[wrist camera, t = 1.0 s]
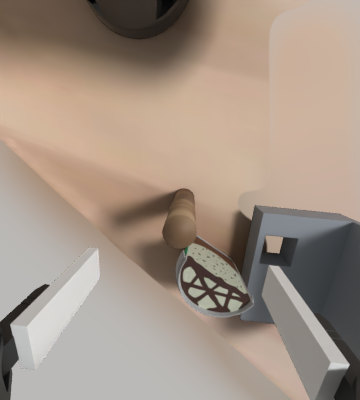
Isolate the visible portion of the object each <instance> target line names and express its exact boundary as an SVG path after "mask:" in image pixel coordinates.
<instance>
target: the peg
mask: <svg viewBox="0 0 360 400" xmlns="http://www.w3.org/2000/svg"><path fill="white" fill-rule="evenodd" d="M162 233H163V238H164V240H165V241H166V243H167V244H168V245H170V246H172V247H174V248H179V249H181V248H186V247H188V246H190V245H191V244H192V243H193V242H194V240H195V238H196V218H195V202H194V195H193V193H192V192H191V191H190V190H189V189H180V190H178V191H177V192H176V194H175V196H174V199H173V202H172V205H171V207H170V210H169V213H168V216H167V219H166V221H165V224H164V227H163V231H162Z"/></svg>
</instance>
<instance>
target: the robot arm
mask: <svg viewBox="0 0 360 400" xmlns="http://www.w3.org/2000/svg"><path fill="white" fill-rule="evenodd" d="M86 1H87V2H88V4H89V5H90V7H91V8H92V9H93V11H94V12H95V14H96V15H97V16H98V18H99V19H100V20H101V21H102V22H103V23H104V24H105V25H106V26H107V27H108V28H110V29H111V30H112V31H114V32H116V33H118V34H120V35H122V36H125V37H128V38H134V39H143V38H149V37H153V36H155V35H158V34H160V33H162V32H163V31H165V30H166V29H168V28H169V27H170V26H171V25H172V24H173V23H174V22H175V21H176V20H177V19H178V17H179V16H180V15H181V13H182V12H183V10H184V8H185V6H186V4H187V2H188V0H86ZM99 278H100V271H99V254H98V248H91V247H88V248H87V249H86V250H85V251H84V252H83V253H82V254H81V255H80V256H79V257H78V258H77V259H76V260H75V261H74V262H73V263H72V264H71V265H70V266H69V267H68V268H67V269H66V270H65V271H64V272H63V273H62V274H61V275H60V276H59V277H58V278H57V279H56V280H55V281H54V282H53V283H52V284H51V285H46V284H44V285H43V286H41V287H39V288H37V289H36V290H34V291H33V292H32V293H31V294H30V295H29V296H28V297H27V299H25V300H23V301H22V302H21V304H20V305H18V306H17V307H16V308H15V309H14V310H13V311H12V312H10V313H9V314H8V315H7V316H6V317H5V318H4V319H3V320H2V321H1V322H0V400H10V396H11V383H12V370H11V368H12V367H13V366H14V364H15V363H16V362H17V361H18V360H19V365H20V368H22V369H30V370H36V369H37V367H38V366H39V364H40V363H41V361H42V360H43V359H44V357H45V356H46V355H47V353H48V352H49V350H50V349H51V347H52V346H53V344H54V343H55V342H56V340H57V339H58V337H59V336H60V334H61V333H62V331H63V330H64V329H65V327H66V326H67V324H68V323H69V322H70V320H71V319H72V317H73V315H74V314H75V313H76V311H77V310H78V309H79V307H80V306H81V304H82V303H83V301H84V300H85V299H86V297H87V296H88V294H89V293H90V291H91V290H92V288H93V287H94V285H95V284H96V283H97V281H98V280H99ZM262 297H263V299H264V301H265V304H266V306H267V308H268V310H269V312H270V314H271V316H272V319H273V321H274V323H275V325H276V327H277V329H278V332H279V334H280V336H281V338H282V340H283V342H284V344H285V347H286V349H287V351H288V353H289V355H290V357H291V360H292V362H293V364H294V366H295V368H296V370H297V372H298V375H299V377H300V379H301V381H302V383H303V385H304V388H305V390H306V392H307V394H308V396H309V398H310V400H334V399H335V400H360V361H359V359H358V358H357V357H356V356H355V354H354V353H353V352H352V350H351V349H350V348H349V347H348V345H347V344H346V343H345V341H343V340H342V338H341V336H340V335H339V334H338V333H337V332H336V330H335V329H334V327H333V326H332V325H331V323H330V322H329V321H328V320H327V319H325V318H324V317H323V316H322V315H321V314H319V313H312V311H311V310H310V309H309V307H308V306H307V304H306V303H305V302H304V300H303V299H302V298H301V296H300V295H299V293H298V292H297V291H296V289H295V288H294V286H293V285H292V284H291V282H290V281H289V279H288V278H287V277H286V275H285V274H284V273H283V271H282V270H281V268H280V267H279V266H271V265H269V266H268V270H267V274H266V279H265V283H264V287H263V291H262Z"/></svg>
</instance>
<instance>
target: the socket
mask: <svg viewBox="0 0 360 400" xmlns="http://www.w3.org/2000/svg"><path fill="white" fill-rule="evenodd" d="M265 235H270V236H280V237H283V242H282V245H281V249H280V253H279V254H278V253H269V252H262V249H263V244H264V240H265ZM269 265H271V266H279V267H280V268H281V270H282V271H283V273H284V274H285V275H286V277H287V278H288V279H289V281H290V282H291V284H292V285H293V286H294V288H295V289H296V291H297V292H298V293H299V295H300V296H301V298H302V299H303V300H304V302H305V303H306V304H307V306H308V307H309V309H310V310H311V311H312V313H319V314H321V315H322V316H323V317H324V318H325V319H327V320H328V321H329V322H330V323H331V325H332V326H333V327H334V329H335V330H336V332H337V333H338V334H339V335H340V336H341V338H342V340H343V341H345V343H346V344H347V345H348V347H349V348H350V349H351V350H352V352H353V353H354V354H355V356H356V357H357V358H358V359H359V361H360V222H357V221H355V220H353V219H350V218H348V217H346V216H343V215H341V214H337V213H326V212H317V211H307V210H297V209H287V208H277V207H267V206H256V205H255V207H254V212H253V217H252V222H251V227H250V232H249V237H248V242H247V247H246V252H245V257H244V262H243V267H242V272H241V278H242V280H243V282H244V284H245V286H246V288H247V290H248V292H249V294H250V296H251V295H252V296H253V299H254V306H252V307H251V308H250V309H248V310H247V311H245V312H243V313H241V314H239V316H240V319H241V320H247V321H255V322H264V323H272V324H275V323H274V321H273V319H272V316H271V314H270V312H269V310H268V308H267V306H266V304H265V301H264V299H263V297H262V291H263V287H264V283H265V279H266V274H267V270H268V266H269Z"/></svg>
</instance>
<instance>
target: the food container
mask: <svg viewBox="0 0 360 400" xmlns="http://www.w3.org/2000/svg"><path fill="white" fill-rule="evenodd" d="M175 273H176V280H177V285H178V288H179V291H180V293H181V295H182V296H183V298H184V300H185V301H186V302H187V303H188V304H189V305H190V306H191V307H192V308H193V309H195V310H196V311H198V312H200V313H202V314H205V315H208V316H212V317H231V316H235V315H238V314H241V313H243V312H245V311H247V310H248V309H250V308H251V307H252V306H254V299H253V296H252V295H251V296H250V294H249V292H248V290H247V288H246V286H245V284H244V282H243V280H242V278H241V275H240V273H239V271H238V269H237V267H236V265H235V263H234V261H233V259H232V258H230V257H229V256H227V255H226V254H224V253H223V252H221V251H220V250H218V249H217V248H215V247H214V246H212V245H211V244H209V243H208V242H206V241H205V240H203V239H202V238H201V237H199V236H198V235H196V238H195V240H194V242H193V243H192V244H191V245H190V246H188V247H186V248H185V251H184V250H183V251H182V252H181V254H180V255H179V258H178V260H177V264H176V271H175Z"/></svg>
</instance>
